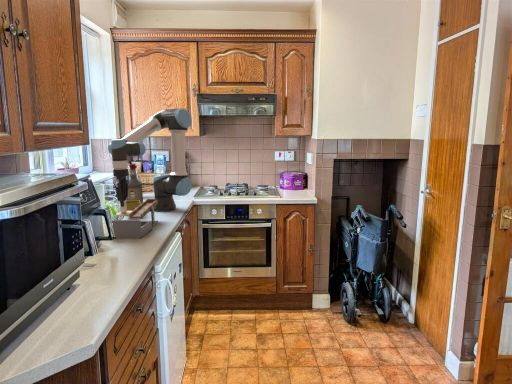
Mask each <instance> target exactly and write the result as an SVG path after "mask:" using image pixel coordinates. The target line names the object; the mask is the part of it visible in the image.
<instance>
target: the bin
mask: <svg viewBox="0 0 512 384" xmlns="http://www.w3.org/2000/svg"><path fill="white" fill-rule="evenodd" d="M111 220H112V223H113V228H114V232H115V236H116V238H115V239H143V237H145V236H146V235H147V234H149V233H150V232H151V231H152V230H153V227H152V222H151V221H152V220H148V221H149V222H141V221H142V220H141V219H139V220H136V219H111Z"/></svg>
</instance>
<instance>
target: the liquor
mask: <svg viewBox="0 0 512 384" xmlns="http://www.w3.org/2000/svg"><path fill="white" fill-rule="evenodd" d="M129 169H130V170H129V173H130V176H129V179H128V180H129V183H128V198H127V199H128V200H126V201H135V200H140V205H141V204H142V203H143V202H144V196H143V195H144V194H143V184H142V181H140V180H139V179H138V178H137V173H136V163H130V164H129Z"/></svg>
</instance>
